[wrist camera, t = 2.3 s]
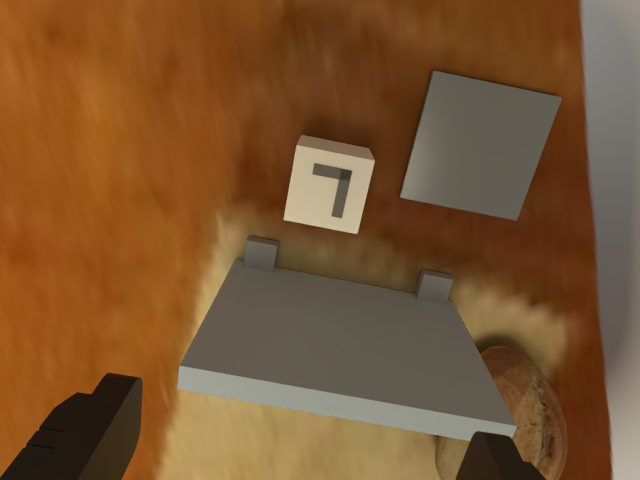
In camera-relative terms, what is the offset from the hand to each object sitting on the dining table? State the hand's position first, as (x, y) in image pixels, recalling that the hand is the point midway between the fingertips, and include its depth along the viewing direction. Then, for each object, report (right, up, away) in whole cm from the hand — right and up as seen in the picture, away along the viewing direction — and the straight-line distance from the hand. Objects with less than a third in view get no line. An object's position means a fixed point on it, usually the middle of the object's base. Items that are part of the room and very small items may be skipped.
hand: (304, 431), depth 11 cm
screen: (+2, +1, +26) cm, 26 cm away
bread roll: (+15, -10, +30) cm, 35 cm away
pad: (+12, +11, +22) cm, 27 cm away
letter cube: (+1, +9, +23) cm, 25 cm away
